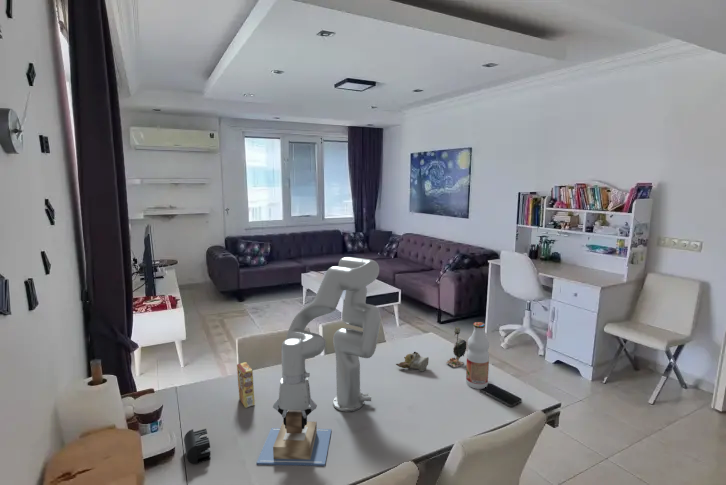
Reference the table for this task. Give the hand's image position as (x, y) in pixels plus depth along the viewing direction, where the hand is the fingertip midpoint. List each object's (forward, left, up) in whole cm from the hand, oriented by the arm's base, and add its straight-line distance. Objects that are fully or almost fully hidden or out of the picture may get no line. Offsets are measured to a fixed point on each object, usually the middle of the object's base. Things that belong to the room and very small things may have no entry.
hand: (295, 425), depth 135 cm
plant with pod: (-67, -64, -8) cm, 93 cm away
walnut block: (0, 0, -1) cm, 1 cm away
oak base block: (0, 0, -8) cm, 8 cm away
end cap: (+32, +5, -8) cm, 33 cm away
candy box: (+26, -27, -8) cm, 38 cm away
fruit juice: (-72, -44, -8) cm, 85 cm away
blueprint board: (0, 0, -8) cm, 8 cm away
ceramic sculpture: (-46, -59, -8) cm, 75 cm away
